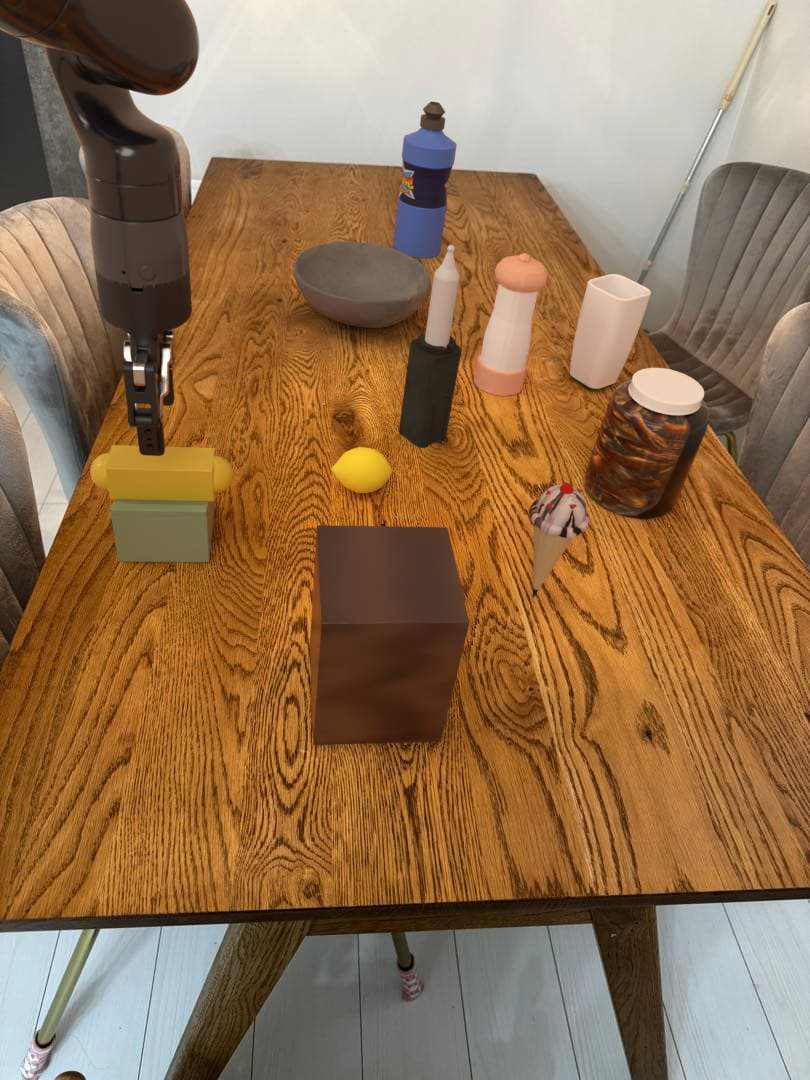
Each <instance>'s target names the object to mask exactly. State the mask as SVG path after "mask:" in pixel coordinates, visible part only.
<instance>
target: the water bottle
mask: <svg viewBox="0 0 810 1080" xmlns="http://www.w3.org/2000/svg"><path fill="white" fill-rule="evenodd" d="M422 111H423V112H424V114H421V115H420V121H419V126H420V128H419V129H418V130H416V131H414V132H411V133H408V134H406V135H404V136H403V139H402V140H403V141H402V150H401V159H402V163H401V164H402V171H401V172H402V178H401V179H402V180H401V181H402V182H401V185H400V189H399V194H398V197H397V203H396V205H397V206H396V214H395V223H394V231H393V232H394V233H393V240H392V241H393V243H392V248H393V249H395V250H398V251H401V252H403V253H406V254H407V255H409V256H411V257H413V258H418V259H430V258H434V257H437V256H439V255H440V253H441V249H442V242H443V235H444V228H445V221H446V215H447V208H448V186H449V181H450V177H451V174H452V171H453V170H452V169H453V166H454V165H455V160H456V152H457V142H456V141H454V140H453V139H452V138H450V137H449V136H447V134H445V132H444V130H445V127H446V125H445V124H446V117H444V114H446V111H445V109H444V108H443V106H442V105H441V103H440V102H437V101H430V102H428V103H427V104H426V105H424V107H423V108H422Z"/></svg>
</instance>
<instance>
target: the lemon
mask: <svg viewBox="0 0 810 1080" xmlns="http://www.w3.org/2000/svg"><path fill="white" fill-rule="evenodd" d="M331 472H332V473H333V475H334V476H335V477H336V479H337V480H338V481H339V482H340V484H341V485H342V486H343V487H345V488H346V489H347V490H350V491H352V492H354V493H356V494H368V493H374V492H376V491H378V490H380V489H382V488H383V487H384V485H385V484H386V483H387V482H388V480H389V479H390V477H391V476H392V473H393V469H392V467H391V465H390V463H389V461H388V460H387V458H386V457H385V455H384V454H382V453H381V452H380V451H379V450H377V449H376V448H372V447H371V448H370V447H364V446H358V447H355V448H351V449H349V450H347V451H345V452H343V453H342V454H341V456H340V457H339V459H338V460H337V461H336V462H335V464H334V465H333V466H332V467H331Z"/></svg>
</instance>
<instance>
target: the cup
mask: <svg viewBox="0 0 810 1080" xmlns="http://www.w3.org/2000/svg"><path fill="white" fill-rule="evenodd" d="M651 294H652V291H651V290H650V289H649V288H648V287H646V286H644V285H642V284H640V283H638V282H636V281H634V280H633V279H630V278H629V277H627V276H624V275H621V274H617V273H609V274H605V275H602V276H598V277H595V278H591V279H589V280H588V281H587V283H586V289H585V292H584V295H583V299H582V303H581V306H580V311H579V315H578V319H577V324H576V328H575V334H574V338H573V343H572V350H571V355H570V356H571V357H570V365H569V375H570V376H571V377H572V379H574V380H575V381H577V382H578V383H580V384H582V385H583V386H585V387H586V388H588V389H591V390H600V389H603V388H606V387H608V386H611V385H613V384H615V383H616V382H617V381H618V379H619V377H620V375H621V372H622V371H623V369H624V366H625V364H626V363H627V360H628V358H629V355H630V353H631V351H632V348H633V346H634V343H635V340H636V338H637V336H638V333H639V330H640V327H641V325H642V321H643V319H644V316H645V314H646V310H647V306H648V304H649V300H650V298H651Z"/></svg>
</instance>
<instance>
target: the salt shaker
mask: <svg viewBox="0 0 810 1080" xmlns="http://www.w3.org/2000/svg"><path fill="white" fill-rule="evenodd" d="M494 277H495V280H496V282H497V289H496V295H495V300H494V304H493V309H492V312H491V314H490V317H489V320H488V323H487V326H486V328H485V331H484V334H483V340H482V345H481V352H480V354H478V356H477V360H476V365H475V370H474V375H473V380H472V381H473V383H474V385H475V386H476V387H477V388H478V389H479V390H482V391H483V392H484V393H488V394H490V395H494V396H499V397H502V396H503V397H508V396H515V395H517V394H519V393H520V392H521V391H522V390H523V387H524V383H525V378H526V374H527V370H528V363H527V358H528V356H529V351H530V348H531V341H532V326H533V316H534V312H535V307H536V303H537V298H538V294H539V291H541V290H542V289H543V288H544V286H546V284H547V282H548V271H547V269H546V266H544V264H543V263H542V262H540V261H539V260H537V259H535V258H533V257H531V255H530V254H529V253H526V252H524V253H520V254H518V255H509V256H505V257H503V258H502V259H501V260H499V262H498V263H497V264H496V267H495V269H494Z"/></svg>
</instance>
